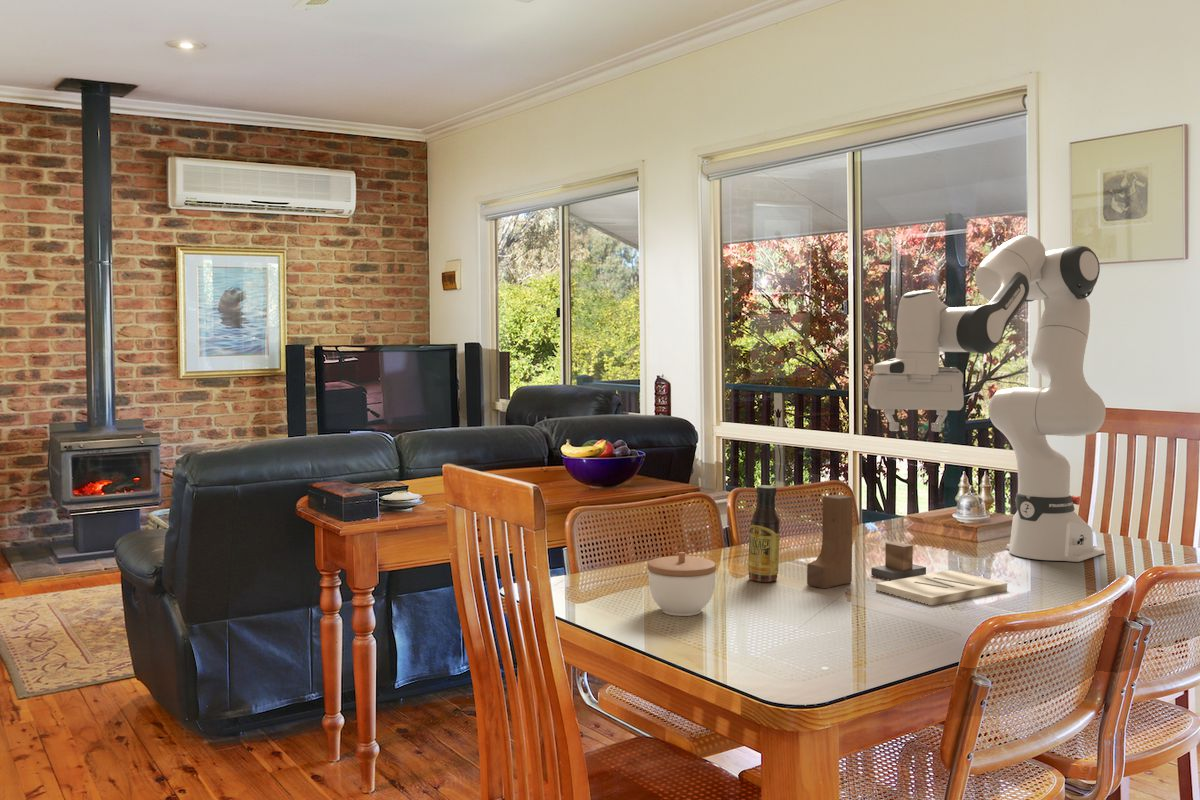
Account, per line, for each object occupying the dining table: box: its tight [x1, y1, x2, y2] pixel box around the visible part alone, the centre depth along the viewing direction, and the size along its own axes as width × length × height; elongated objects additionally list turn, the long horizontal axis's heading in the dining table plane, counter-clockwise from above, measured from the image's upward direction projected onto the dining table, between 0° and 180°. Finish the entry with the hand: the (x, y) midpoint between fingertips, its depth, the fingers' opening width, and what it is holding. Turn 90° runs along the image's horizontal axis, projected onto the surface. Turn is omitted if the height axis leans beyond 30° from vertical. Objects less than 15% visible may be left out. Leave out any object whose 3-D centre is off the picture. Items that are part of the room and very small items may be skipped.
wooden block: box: [806, 494, 853, 590], centre depth 215 cm, size 9×4×18 cm, turn 126°
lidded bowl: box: [647, 551, 717, 617], centre depth 194 cm, size 13×13×11 cm
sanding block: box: [870, 541, 927, 581], centre depth 223 cm, size 10×6×7 cm, turn 121°
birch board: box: [875, 569, 1008, 606], centre depth 209 cm, size 22×14×2 cm, turn 121°
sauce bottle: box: [747, 484, 781, 584], centre depth 218 cm, size 6×6×20 cm
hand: (915, 431), depth 223 cm, fingers open, 8 cm apart
